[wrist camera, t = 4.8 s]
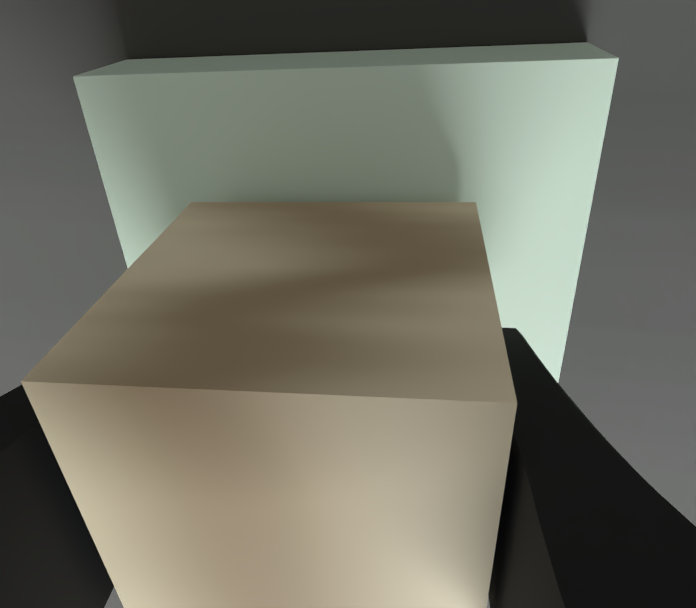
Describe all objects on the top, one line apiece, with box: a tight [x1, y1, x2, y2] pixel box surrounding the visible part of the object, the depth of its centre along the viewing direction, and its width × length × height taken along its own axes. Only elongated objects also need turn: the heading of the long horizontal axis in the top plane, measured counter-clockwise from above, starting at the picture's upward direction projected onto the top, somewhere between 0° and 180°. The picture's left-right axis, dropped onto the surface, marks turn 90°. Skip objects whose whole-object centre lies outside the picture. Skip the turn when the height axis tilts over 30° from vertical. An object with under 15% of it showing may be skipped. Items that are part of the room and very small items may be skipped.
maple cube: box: [21, 202, 517, 608], centre depth 9 cm, size 5×5×5 cm
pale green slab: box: [73, 42, 619, 383], centre depth 12 cm, size 9×9×2 cm
